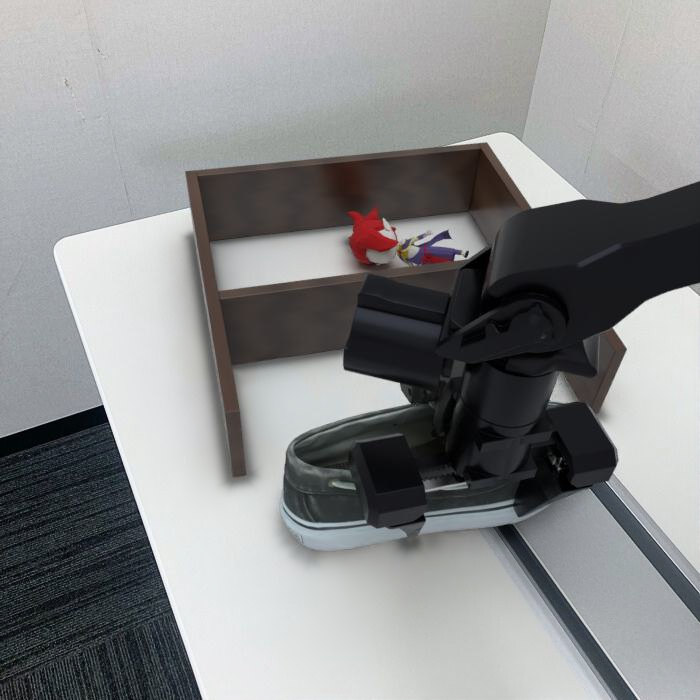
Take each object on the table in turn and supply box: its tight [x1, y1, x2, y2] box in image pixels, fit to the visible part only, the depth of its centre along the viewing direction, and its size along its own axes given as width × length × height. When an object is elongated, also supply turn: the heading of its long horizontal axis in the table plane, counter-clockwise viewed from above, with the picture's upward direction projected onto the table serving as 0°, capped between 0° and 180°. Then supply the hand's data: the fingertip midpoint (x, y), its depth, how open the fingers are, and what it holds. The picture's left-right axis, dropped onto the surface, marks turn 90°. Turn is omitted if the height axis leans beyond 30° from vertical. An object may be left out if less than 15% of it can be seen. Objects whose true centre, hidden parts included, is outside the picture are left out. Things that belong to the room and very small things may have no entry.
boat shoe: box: [279, 400, 567, 552], centre depth 62 cm, size 10×29×10 cm, turn 112°
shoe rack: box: [184, 141, 628, 478], centre depth 78 cm, size 35×35×9 cm
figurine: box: [348, 206, 470, 267], centre depth 85 cm, size 6×8×15 cm
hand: (464, 523), depth 60 cm, fingers open, 9 cm apart
